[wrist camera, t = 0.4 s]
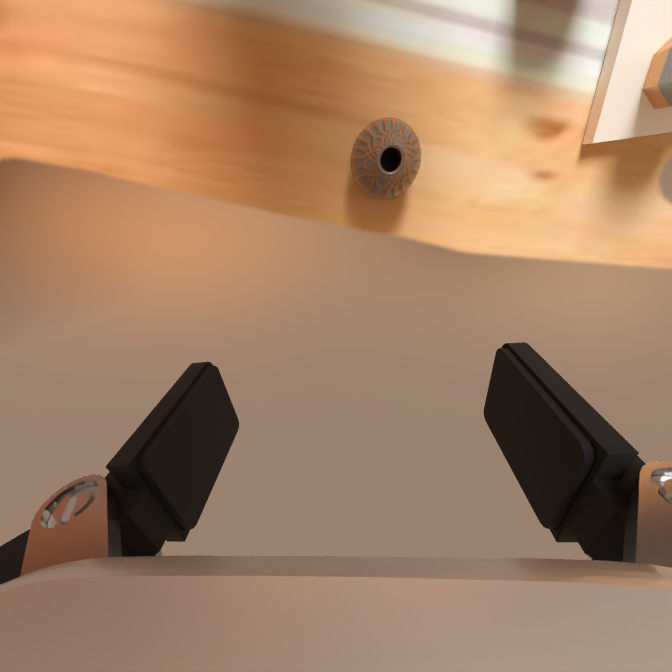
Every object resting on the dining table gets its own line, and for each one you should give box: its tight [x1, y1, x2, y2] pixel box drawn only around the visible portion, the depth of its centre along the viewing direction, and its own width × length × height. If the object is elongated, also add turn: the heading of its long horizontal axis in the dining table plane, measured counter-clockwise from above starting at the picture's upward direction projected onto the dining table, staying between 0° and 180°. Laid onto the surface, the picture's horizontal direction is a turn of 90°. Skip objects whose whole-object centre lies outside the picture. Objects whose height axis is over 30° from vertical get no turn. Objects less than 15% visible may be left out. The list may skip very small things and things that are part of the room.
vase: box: [351, 118, 421, 200], centre depth 28 cm, size 7×7×9 cm
